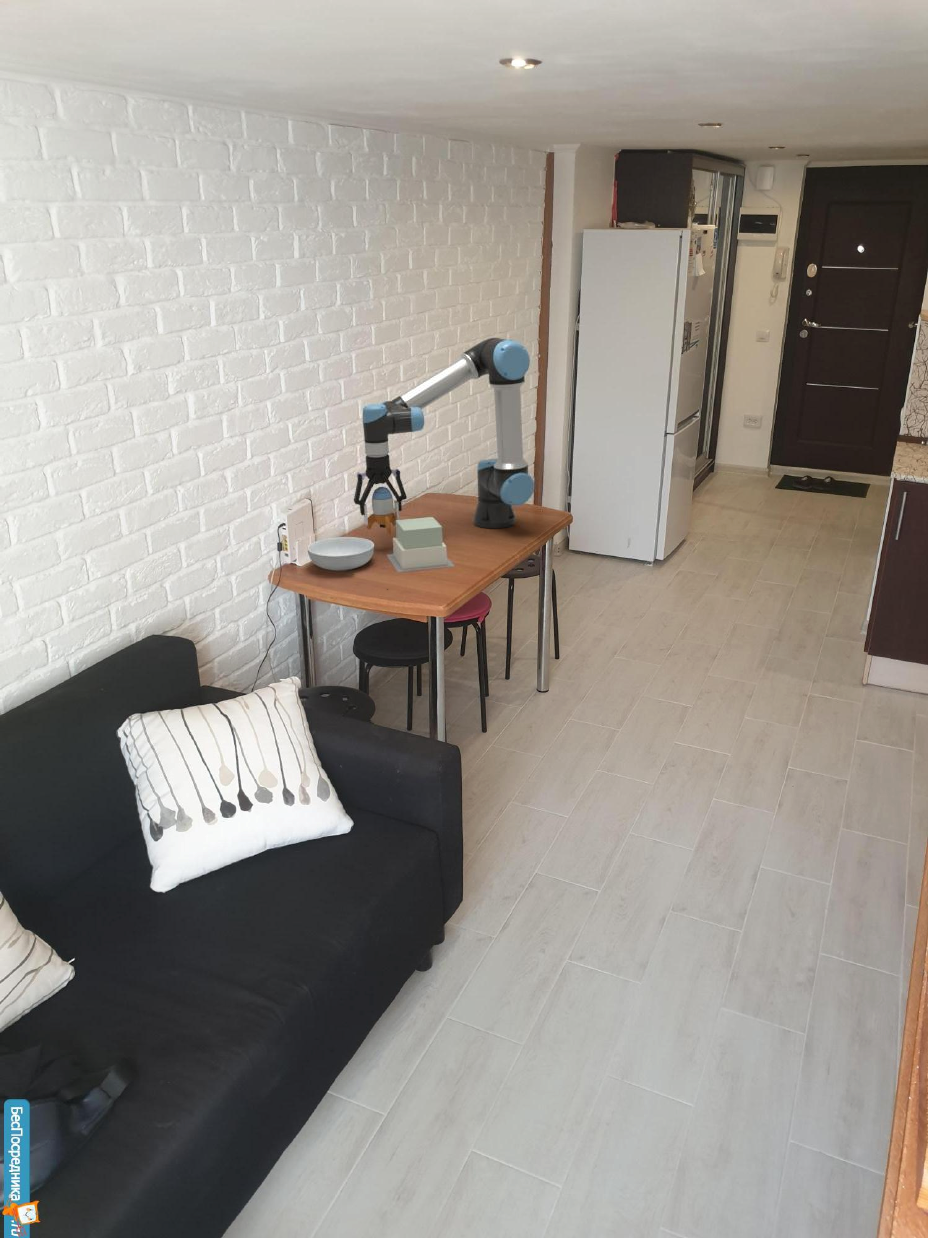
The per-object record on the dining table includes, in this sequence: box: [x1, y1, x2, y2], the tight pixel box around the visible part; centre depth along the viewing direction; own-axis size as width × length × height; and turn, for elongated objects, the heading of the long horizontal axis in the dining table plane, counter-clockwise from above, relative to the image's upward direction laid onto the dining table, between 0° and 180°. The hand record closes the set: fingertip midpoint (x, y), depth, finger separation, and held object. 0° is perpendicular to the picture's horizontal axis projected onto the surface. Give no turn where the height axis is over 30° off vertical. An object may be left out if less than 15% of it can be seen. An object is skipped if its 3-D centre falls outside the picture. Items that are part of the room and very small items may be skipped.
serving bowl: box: [307, 536, 375, 572], centre depth 298 cm, size 21×21×7 cm
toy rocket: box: [366, 486, 396, 535], centre depth 307 cm, size 10×11×15 cm
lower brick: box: [392, 537, 448, 569], centre depth 299 cm, size 14×14×6 cm
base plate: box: [386, 553, 455, 573], centre depth 300 cm, size 18×18×1 cm
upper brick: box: [395, 516, 443, 549], centre depth 297 cm, size 12×12×6 cm
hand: (381, 522), depth 309 cm, fingers closed on toy rocket, 10 cm apart
